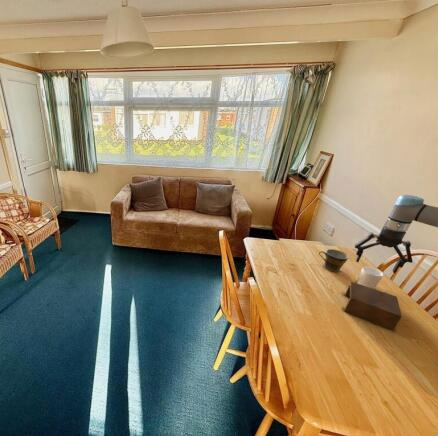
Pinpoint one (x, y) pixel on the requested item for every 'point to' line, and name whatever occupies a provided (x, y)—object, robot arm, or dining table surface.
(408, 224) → the robot arm
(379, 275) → the white cup
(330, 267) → the ceramic cup
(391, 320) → the dark brown wooden box
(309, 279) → the dining table surface
